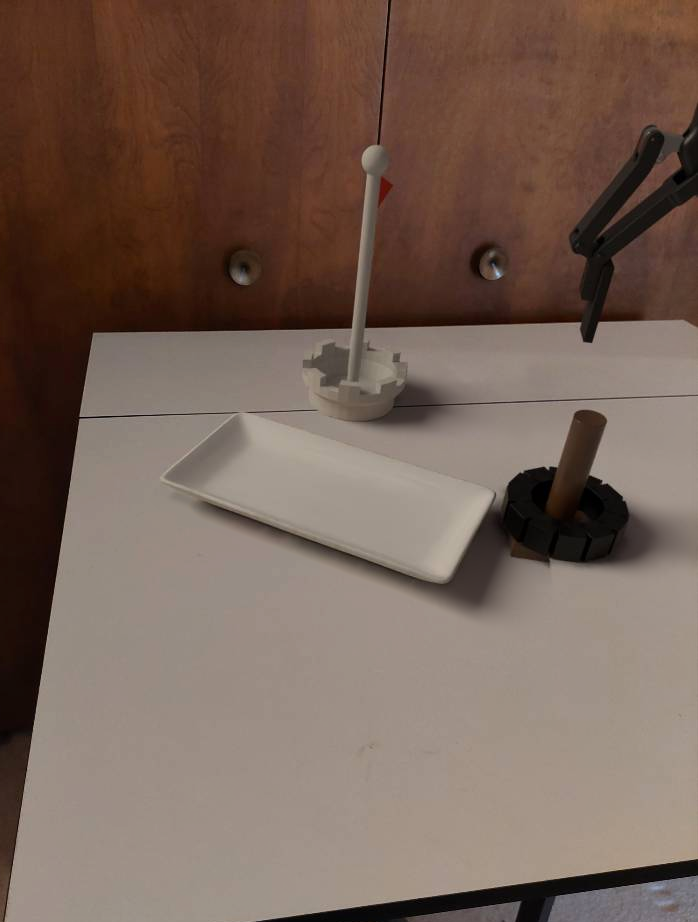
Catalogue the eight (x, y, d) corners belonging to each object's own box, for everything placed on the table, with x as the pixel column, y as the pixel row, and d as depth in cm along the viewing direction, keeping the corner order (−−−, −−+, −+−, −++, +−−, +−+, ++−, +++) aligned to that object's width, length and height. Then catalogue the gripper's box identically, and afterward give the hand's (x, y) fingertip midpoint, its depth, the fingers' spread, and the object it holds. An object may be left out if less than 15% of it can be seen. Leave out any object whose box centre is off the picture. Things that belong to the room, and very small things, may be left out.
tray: (238, 431, 95) (238, 406, 93) (494, 514, 85) (501, 487, 83) (156, 505, 84) (154, 478, 81) (441, 611, 73) (448, 584, 71)
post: (591, 514, 86) (632, 399, 77) (602, 569, 79) (649, 450, 70) (506, 503, 87) (537, 388, 78) (510, 556, 80) (544, 437, 71)
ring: (610, 497, 86) (619, 474, 84) (627, 569, 77) (637, 545, 75) (499, 483, 87) (505, 460, 85) (503, 552, 78) (510, 528, 76)
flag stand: (373, 436, 96) (406, 170, 77) (281, 404, 101) (291, 146, 82) (418, 393, 105) (459, 144, 85) (332, 365, 110) (352, 123, 90)
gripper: (940, 63, 57) (805, 341, 70) (580, 37, 59) (517, 311, 73) (994, 83, 51) (836, 382, 64) (592, 54, 53) (521, 347, 67)
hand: (666, 345), depth 69 cm, fingers open, 13 cm apart
